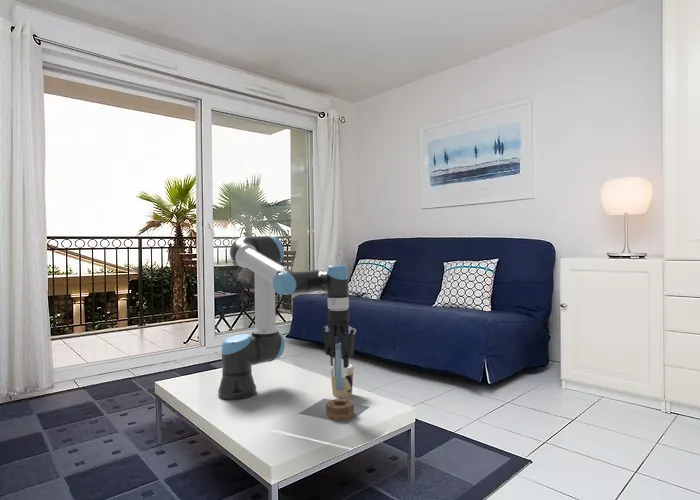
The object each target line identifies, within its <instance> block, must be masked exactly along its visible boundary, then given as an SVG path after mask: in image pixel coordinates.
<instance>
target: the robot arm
mask: <svg viewBox="0 0 700 500" xmlns="http://www.w3.org/2000/svg"><path fill="white" fill-rule="evenodd" d="M283 246H284V245H283V243H282V242H281V241H280V239H279V238H277V237H275V236H268V235H265V236H261V235H260V236H259V235H258V236H257V235H256V236H253V235H252V236H250V235H249V236H248V235H247V236H246V235H245V236H242V237H239V238H237V239H235V240H234V241H233V242H232V244H231V245H230V249H229V256H230V258H231V260H232V262H233V263H235V265H237V266H239V267H240V268H247V269H248V270H250V271H252V272H253V273H254V320H255V321H254V323H255V324H254V326H255V327H254V328H253V329H252V330H251V334H247V333H244V334H243V333H242V334H236V335H232V336H229V337H226V338H225V339H224V340H223V341H222V343H221V369H222V377H221V381H220V383H219V387H218V391H217V392H218V395H217V396H218V397H219V398H220V399H222V400H230V401H235V400H242V399H243V400H244V399H248V398H250V397H252V396H255V395H256V393H257V385H256V384H255V380H254V377H253V374H252V371H253V370H252V366H256V365H259V364H263V363H264V364H265V363H270V362H273V361H277V360H278V359H280V358H281V356H282V355H283V354H284V352H285V351H284V350H285V347H286V345H285V344H286V342H285V339H284V335H283V334H282V333H280V329H279V328H278V327H277V326H276V294H277V295H281V296H282V295H286V296H290V295H294V294H302V293H313V292H327V293H326V294H327V295H326V296H327V309H328V310H327V320H328V323H327V325H325V326H322V327H321V332H322V334H323V343H324V352H325V355H326V356H329V357H330V367H331V366H333V376H334V377H335V376H336V356H335V344H336V343H338V342H339V341H338V339H339V340H340V343H341V348H342V355H343V357H342V359H341V377H342V378H344V377H346V376H347V367H348V366H349V364H350V361H349V359H350V358H351V357H353V356H354V354H355V340H356V339H355V338H356V333H357V331H358V329H357V328H355V327H354V328H353V327H351V324H350V310H349V307H350V300H349V290H350V289H349V278H350V276H349V270H348V269H349V268H348V266H347V265H346V264H345V265H344V264H341V265H339V264H334V265H331V264H330V265H328V266H326V270H321V269H320V270H319V269H312V270H307V271H306V270H305V271H293V270H291V269H289V268H288V267H286V266H283V265H282V264H280V263H281V262H282V261H283V259H284V258H285V251H284V250H285V249H284V247H283ZM330 332H331V333H330Z"/></svg>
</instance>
